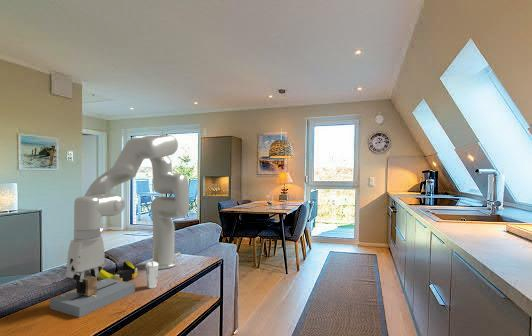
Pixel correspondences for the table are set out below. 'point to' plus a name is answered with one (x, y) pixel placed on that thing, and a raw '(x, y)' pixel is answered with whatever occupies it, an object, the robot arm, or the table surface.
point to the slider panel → (92, 298)
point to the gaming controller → (120, 273)
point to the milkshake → (151, 274)
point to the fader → (90, 285)
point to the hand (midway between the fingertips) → (86, 290)
